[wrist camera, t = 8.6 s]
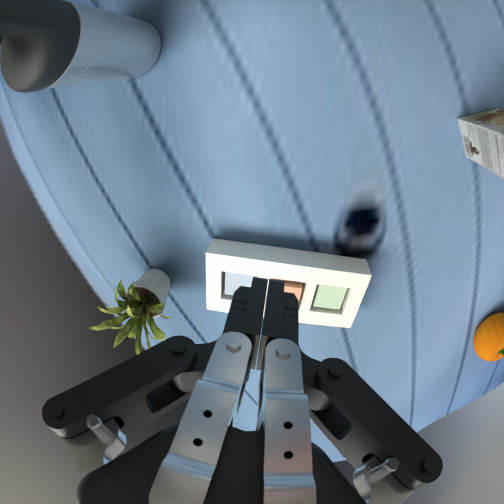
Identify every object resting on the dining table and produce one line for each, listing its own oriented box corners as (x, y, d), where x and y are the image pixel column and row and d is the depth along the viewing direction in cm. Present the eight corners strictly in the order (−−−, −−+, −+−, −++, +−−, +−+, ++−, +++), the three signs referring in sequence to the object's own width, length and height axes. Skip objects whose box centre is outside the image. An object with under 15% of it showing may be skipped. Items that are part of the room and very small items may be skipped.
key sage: (312, 296, 46) (313, 306, 44) (318, 275, 44) (319, 284, 42) (338, 299, 46) (339, 309, 44) (345, 278, 44) (347, 288, 42)
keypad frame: (212, 292, 50) (206, 309, 47) (212, 238, 44) (205, 252, 41) (347, 310, 49) (350, 327, 45) (366, 259, 43) (371, 275, 39)
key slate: (227, 284, 47) (224, 294, 45) (228, 262, 45) (225, 271, 43) (254, 288, 47) (252, 298, 45) (256, 266, 45) (254, 276, 43)
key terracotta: (269, 296, 46) (268, 306, 44) (272, 274, 43) (271, 284, 41) (296, 300, 45) (296, 310, 43) (302, 278, 43) (302, 288, 41)
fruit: (503, 297, 43) (523, 329, 34) (510, 322, 46) (526, 351, 38) (464, 327, 48) (479, 362, 40) (474, 349, 52) (487, 380, 43)
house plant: (217, 284, 49) (190, 360, 35) (178, 321, 56) (150, 388, 42) (149, 233, 45) (98, 297, 32) (119, 279, 52) (77, 340, 38)
